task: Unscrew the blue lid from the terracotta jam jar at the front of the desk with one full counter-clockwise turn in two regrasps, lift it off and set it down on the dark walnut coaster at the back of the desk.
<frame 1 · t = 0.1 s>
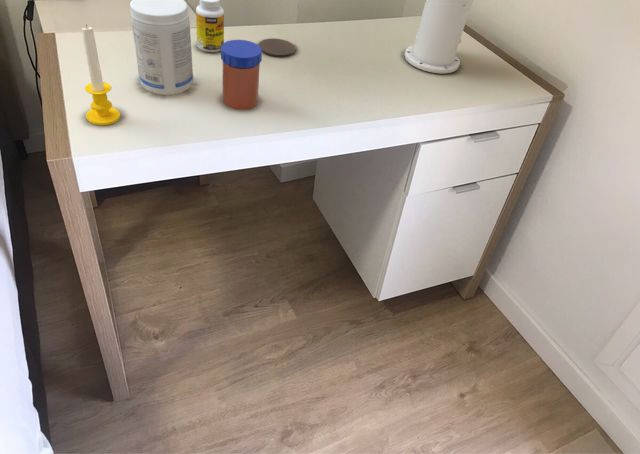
coaster: (276, 48, 112), on the table
supplement tub: (166, 84, 96), on the table
candle: (103, 118, 85), on the table
jar lid: (241, 50, 88), point 10 cm above the table, screwed on, not yet turned
supplement bottle: (210, 48, 108), on the table
jar: (240, 100, 94), on the table
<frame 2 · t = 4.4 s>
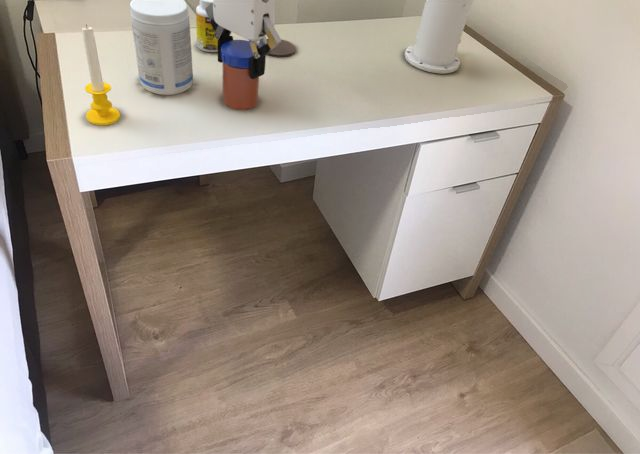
hand: (241, 67, 90), 7 cm above the table, tool pointing down, fingers closed on jar lid, 6 cm apart
jar lid: (241, 50, 88), point 10 cm above the table, screwed on, not yet turned, touching gripper
everything else where it was.
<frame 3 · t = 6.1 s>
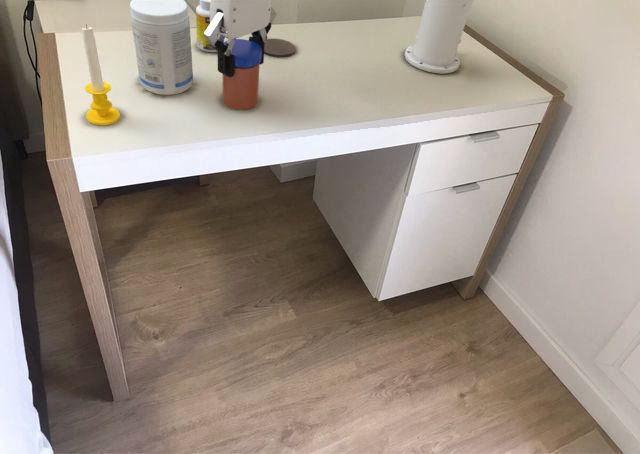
hand: (241, 66, 90), 7 cm above the table, tool pointing down, fingers closed on jar lid, 6 cm apart
jar lid: (241, 50, 88), point 10 cm above the table, turned 90° so far, risen 0.1 cm, still on its thread, touching gripper
everything else where it was.
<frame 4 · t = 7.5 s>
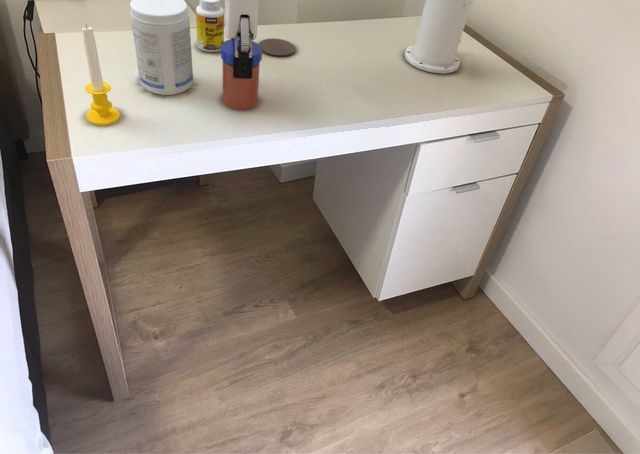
hand: (241, 66, 90), 7 cm above the table, tool pointing down, fingers closed on jar lid, 6 cm apart
jar lid: (241, 49, 88), point 10 cm above the table, turned 137° so far, risen 0.2 cm, still on its thread, touching gripper
everything else where it was.
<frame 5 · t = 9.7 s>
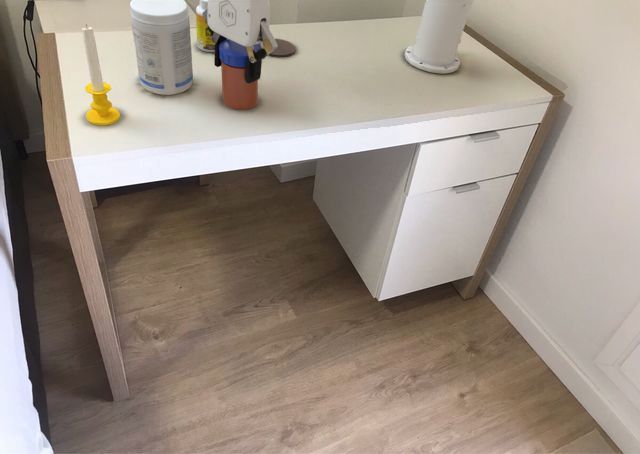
hand: (237, 71, 90), 6 cm above the table, tool pointing down, fingers closed on jar lid, 6 cm apart
jar lid: (239, 49, 87), point 10 cm above the table, turned 179° so far, risen 0.2 cm, still on its thread, touching gripper
jar: (240, 100, 94), on the table, touching gripper
everything else where it was.
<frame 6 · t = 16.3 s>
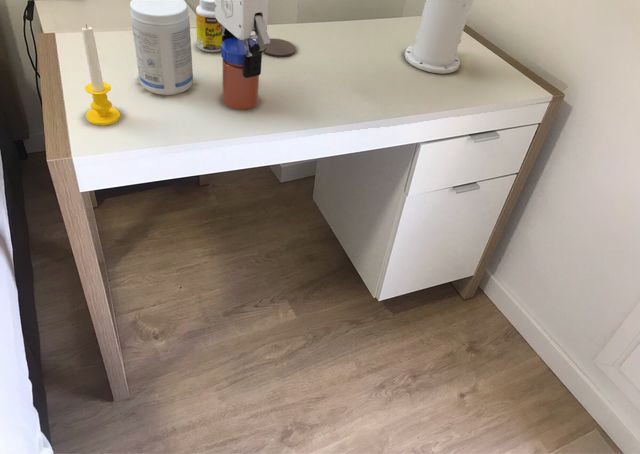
hand: (241, 65, 90), 7 cm above the table, tool pointing down, fingers closed on jar lid, 6 cm apart
jar lid: (241, 47, 87), point 10 cm above the table, turned 341° so far, risen 0.5 cm, still on its thread, touching gripper
jar: (240, 100, 94), on the table
everything else where it was.
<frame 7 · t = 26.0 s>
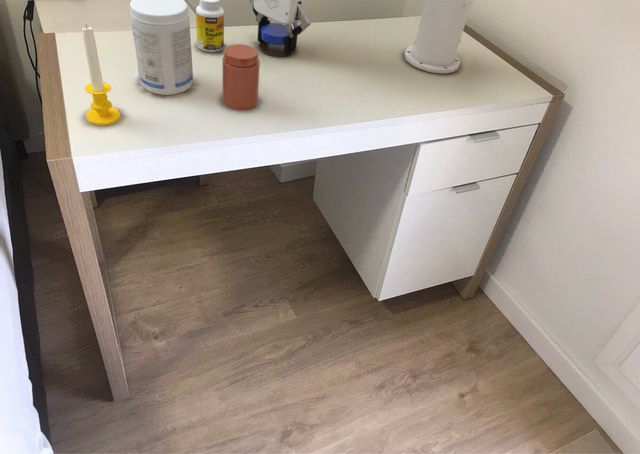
hand: (276, 45, 112), 1 cm above the table, tool pointing down, fingers closed on jar lid, 6 cm apart
jar lid: (277, 31, 109), point 4 cm above the table, off its thread, touching gripper
everything else where it was.
when the fingers open (1 cm above the table, at t = 34.4 s): jar lid drops 3 cm, resting on coaster.
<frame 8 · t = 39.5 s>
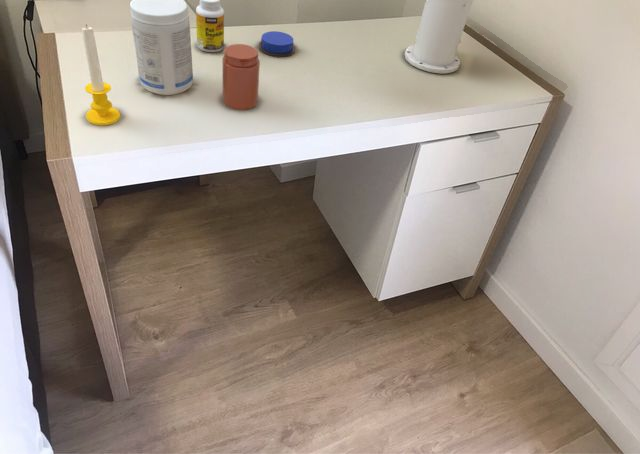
jar lid: (277, 39, 111), point 2 cm above the table, off its thread, touching coaster
everything else where it was.
at the end: jar lid came off its thread; jar lid inside the target area on the coaster (0.0 cm from its centre), point 2.0 cm above the coaster's base; the gripper is holding nothing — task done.
